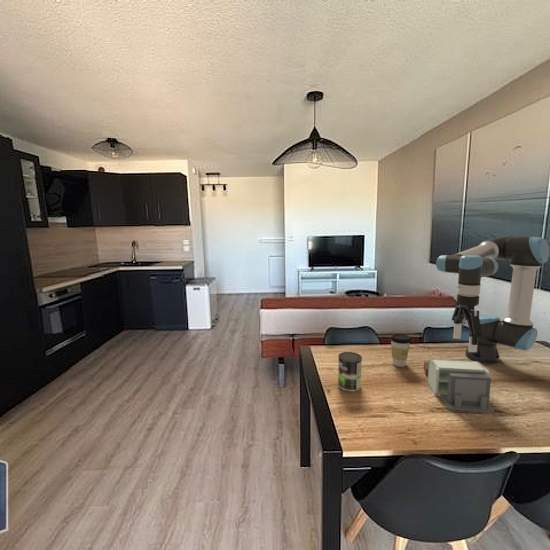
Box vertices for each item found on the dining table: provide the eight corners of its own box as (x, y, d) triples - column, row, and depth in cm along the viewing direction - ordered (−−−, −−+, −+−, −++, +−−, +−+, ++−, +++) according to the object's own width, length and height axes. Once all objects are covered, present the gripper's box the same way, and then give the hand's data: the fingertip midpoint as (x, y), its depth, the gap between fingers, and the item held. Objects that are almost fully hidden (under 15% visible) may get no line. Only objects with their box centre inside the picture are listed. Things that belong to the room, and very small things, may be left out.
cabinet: (475, 386, 135) (478, 361, 133) (499, 413, 116) (503, 384, 114) (427, 383, 138) (429, 358, 136) (443, 409, 119) (445, 381, 117)
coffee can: (346, 393, 132) (347, 363, 129) (333, 382, 141) (333, 354, 139) (366, 388, 136) (366, 358, 133) (352, 378, 145) (352, 350, 143)
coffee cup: (412, 368, 153) (414, 340, 151) (393, 368, 153) (394, 340, 151) (405, 359, 163) (406, 332, 160) (386, 359, 163) (387, 333, 161)
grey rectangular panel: (484, 403, 121) (487, 375, 119) (488, 407, 119) (491, 378, 117) (446, 400, 124) (449, 373, 122) (449, 404, 121) (451, 376, 119)
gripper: (445, 287, 134) (442, 333, 137) (473, 302, 109) (469, 358, 113) (463, 287, 132) (460, 333, 136) (496, 302, 108) (491, 358, 112)
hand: (464, 344), depth 125 cm, fingers open, 13 cm apart
